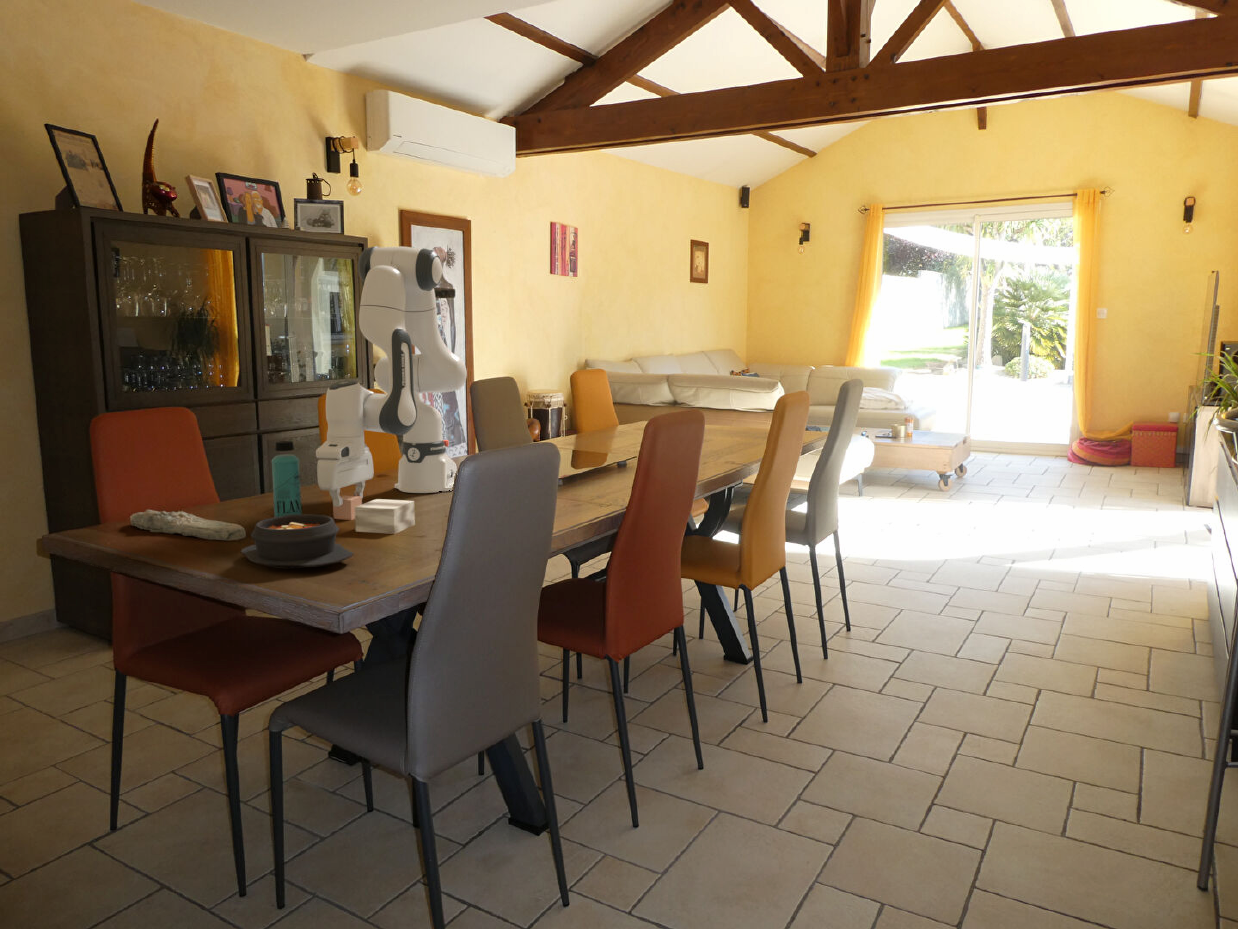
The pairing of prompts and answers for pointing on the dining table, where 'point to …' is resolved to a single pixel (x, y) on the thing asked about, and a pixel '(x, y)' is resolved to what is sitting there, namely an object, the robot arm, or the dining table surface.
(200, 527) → the long grey stone
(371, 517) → the base block
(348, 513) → the terracotta block
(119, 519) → the dining table surface
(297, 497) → the beverage bottle
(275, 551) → the casserole
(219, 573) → the dining table surface
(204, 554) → the dining table surface
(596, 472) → the dining table surface
